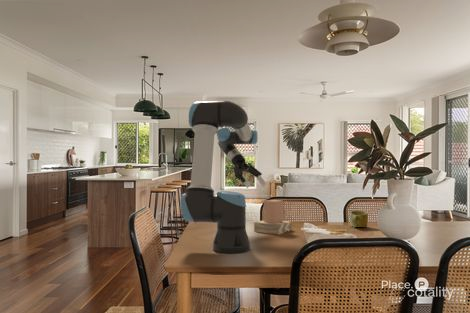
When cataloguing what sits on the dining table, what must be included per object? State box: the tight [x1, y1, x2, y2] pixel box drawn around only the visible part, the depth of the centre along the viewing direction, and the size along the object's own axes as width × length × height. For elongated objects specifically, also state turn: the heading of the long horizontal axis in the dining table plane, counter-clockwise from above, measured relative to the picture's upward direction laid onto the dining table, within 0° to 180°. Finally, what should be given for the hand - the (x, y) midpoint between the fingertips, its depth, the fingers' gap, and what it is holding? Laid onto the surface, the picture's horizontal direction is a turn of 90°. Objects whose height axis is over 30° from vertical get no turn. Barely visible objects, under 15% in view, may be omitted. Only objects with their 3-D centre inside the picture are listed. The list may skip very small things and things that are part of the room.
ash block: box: [253, 219, 293, 235], centre depth 182 cm, size 14×14×5 cm
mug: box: [349, 210, 369, 228], centre depth 192 cm, size 12×10×10 cm
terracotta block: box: [263, 199, 284, 223], centre depth 182 cm, size 7×7×11 cm
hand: (257, 185), depth 190 cm, fingers open, 13 cm apart
